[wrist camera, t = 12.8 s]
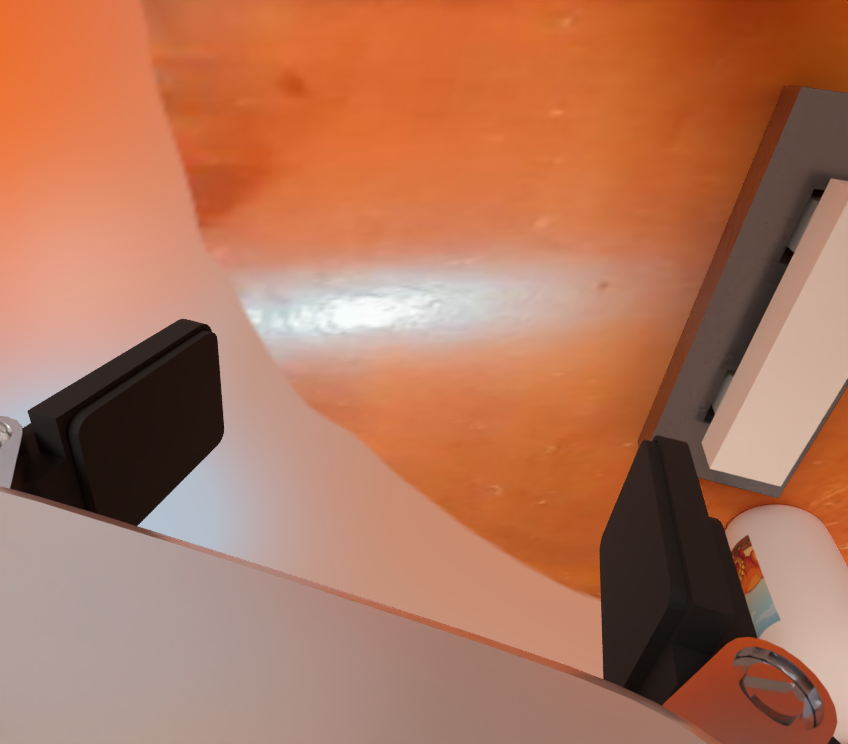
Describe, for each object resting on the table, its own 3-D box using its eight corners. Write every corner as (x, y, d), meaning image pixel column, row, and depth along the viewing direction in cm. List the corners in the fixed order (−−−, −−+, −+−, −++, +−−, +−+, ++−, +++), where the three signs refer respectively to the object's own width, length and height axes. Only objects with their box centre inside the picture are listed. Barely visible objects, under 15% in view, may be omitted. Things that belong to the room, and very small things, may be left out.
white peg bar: (802, 166, 33) (854, 188, 26) (881, 179, 32) (954, 205, 26) (690, 408, 42) (709, 468, 36) (750, 423, 41) (780, 486, 35)
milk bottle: (762, 485, 43) (876, 748, 26) (850, 528, 43) (1022, 821, 26) (701, 543, 48) (766, 803, 31) (782, 583, 47) (892, 866, 30)
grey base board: (784, 85, 31) (801, 86, 29) (978, 113, 30) (1015, 116, 27) (637, 440, 44) (641, 463, 42) (767, 473, 43) (778, 498, 40)
